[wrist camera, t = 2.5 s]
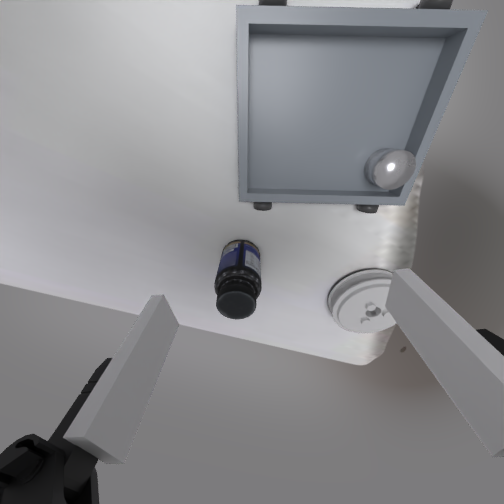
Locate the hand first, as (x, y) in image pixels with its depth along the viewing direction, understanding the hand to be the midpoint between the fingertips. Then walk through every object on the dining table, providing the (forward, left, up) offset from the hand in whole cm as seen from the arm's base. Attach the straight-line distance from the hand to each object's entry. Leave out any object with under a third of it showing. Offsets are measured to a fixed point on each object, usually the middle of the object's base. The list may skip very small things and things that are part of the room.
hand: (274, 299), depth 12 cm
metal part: (+14, +5, -18) cm, 23 cm away
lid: (+19, -17, -19) cm, 32 cm away
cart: (+7, +9, -19) cm, 22 cm away
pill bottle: (-3, -9, -19) cm, 22 cm away
